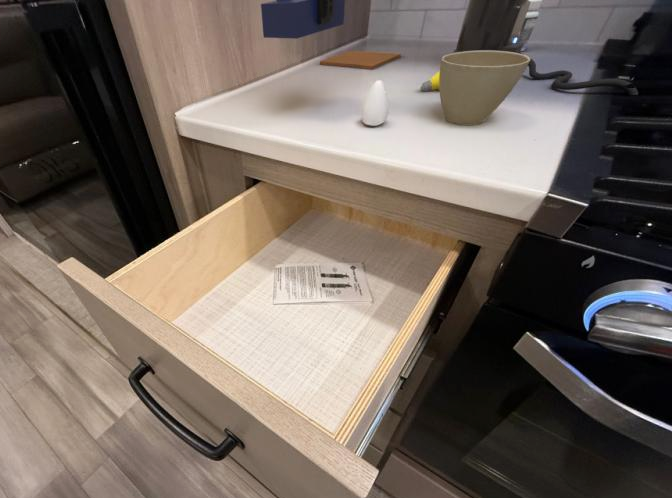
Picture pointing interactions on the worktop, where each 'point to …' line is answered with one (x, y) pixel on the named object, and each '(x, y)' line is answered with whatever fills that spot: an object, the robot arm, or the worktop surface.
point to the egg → (375, 105)
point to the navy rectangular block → (297, 18)
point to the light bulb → (431, 83)
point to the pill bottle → (529, 23)
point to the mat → (360, 59)
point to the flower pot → (477, 83)
